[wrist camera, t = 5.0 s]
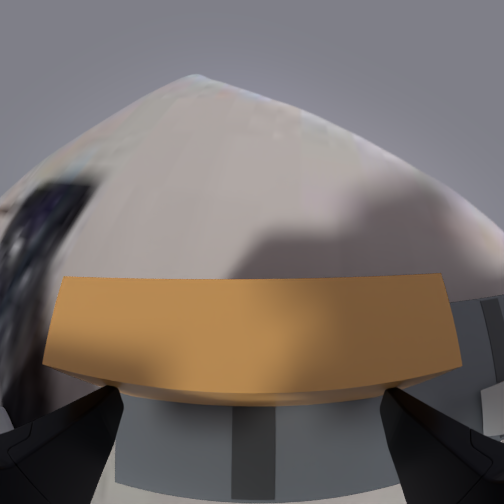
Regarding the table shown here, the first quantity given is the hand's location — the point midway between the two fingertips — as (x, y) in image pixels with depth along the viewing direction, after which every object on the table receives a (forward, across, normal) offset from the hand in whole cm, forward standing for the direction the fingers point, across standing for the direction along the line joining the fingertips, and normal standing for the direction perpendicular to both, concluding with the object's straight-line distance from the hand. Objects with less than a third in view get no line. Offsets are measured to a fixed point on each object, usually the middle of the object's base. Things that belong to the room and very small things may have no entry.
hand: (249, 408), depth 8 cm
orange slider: (+5, 0, +2) cm, 5 cm away
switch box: (+6, -8, +6) cm, 12 cm away
